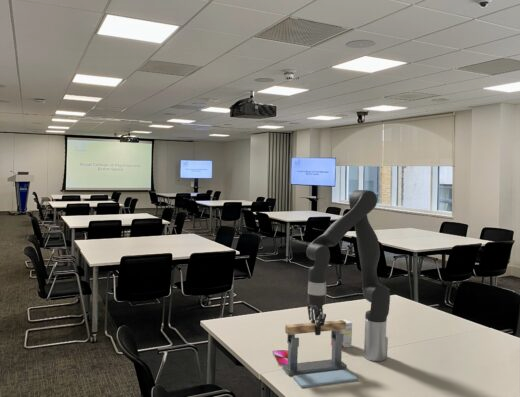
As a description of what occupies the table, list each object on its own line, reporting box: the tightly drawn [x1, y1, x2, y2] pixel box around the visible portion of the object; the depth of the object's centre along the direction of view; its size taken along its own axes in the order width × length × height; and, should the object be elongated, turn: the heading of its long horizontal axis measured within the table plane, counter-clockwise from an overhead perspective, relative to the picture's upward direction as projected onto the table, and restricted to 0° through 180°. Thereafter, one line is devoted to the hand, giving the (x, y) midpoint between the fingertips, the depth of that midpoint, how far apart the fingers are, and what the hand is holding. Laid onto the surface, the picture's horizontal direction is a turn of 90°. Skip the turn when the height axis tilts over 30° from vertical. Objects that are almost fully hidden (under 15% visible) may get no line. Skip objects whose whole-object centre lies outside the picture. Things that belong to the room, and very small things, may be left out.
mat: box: [292, 368, 359, 388], centre depth 173 cm, size 24×8×1 cm, turn 108°
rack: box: [281, 330, 348, 377], centre depth 183 cm, size 26×7×14 cm, turn 108°
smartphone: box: [272, 349, 288, 367], centre depth 192 cm, size 7×1×15 cm
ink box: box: [330, 319, 353, 349], centre depth 209 cm, size 9×5×12 cm, turn 107°
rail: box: [284, 319, 346, 335], centre depth 182 cm, size 26×3×3 cm, turn 108°
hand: (315, 333), depth 182 cm, fingers closed on rail, 3 cm apart
